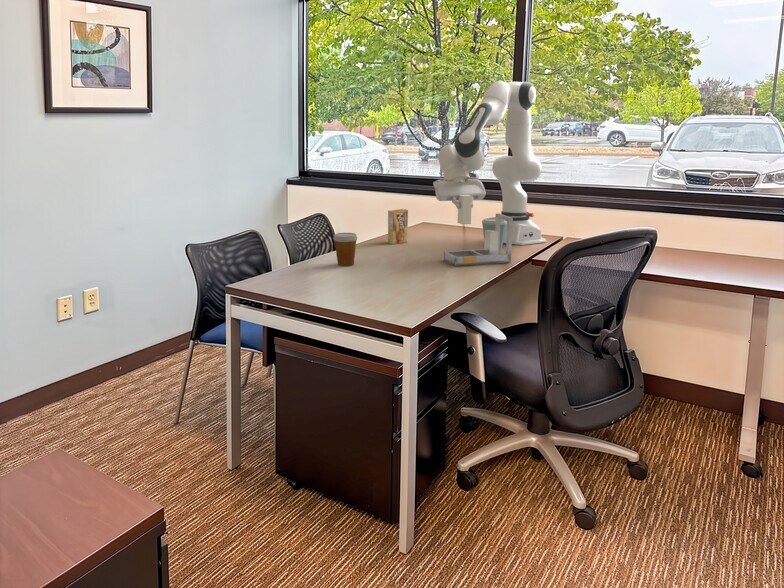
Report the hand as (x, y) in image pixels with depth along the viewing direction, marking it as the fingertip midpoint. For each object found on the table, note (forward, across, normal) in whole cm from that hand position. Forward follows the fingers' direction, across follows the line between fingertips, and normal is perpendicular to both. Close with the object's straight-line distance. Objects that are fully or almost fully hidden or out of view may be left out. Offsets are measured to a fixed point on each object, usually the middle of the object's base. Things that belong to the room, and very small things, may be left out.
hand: (465, 207), depth 249 cm
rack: (+15, +6, +16) cm, 23 cm away
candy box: (-19, -12, +50) cm, 55 cm away
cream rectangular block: (+4, 0, +5) cm, 6 cm away
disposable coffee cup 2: (+5, +20, +26) cm, 33 cm away
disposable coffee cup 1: (+8, -46, +24) cm, 52 cm away
